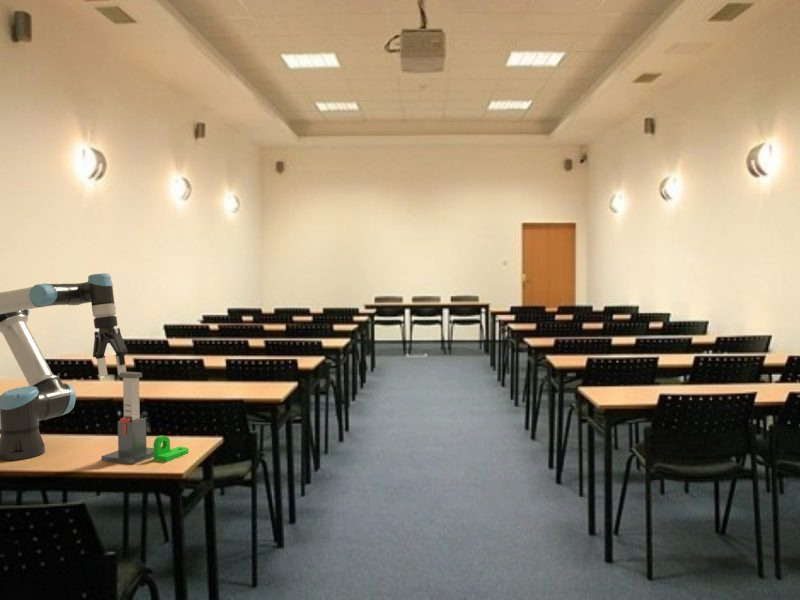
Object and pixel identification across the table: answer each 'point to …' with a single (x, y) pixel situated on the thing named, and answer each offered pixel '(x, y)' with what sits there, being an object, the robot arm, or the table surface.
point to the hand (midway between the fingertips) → (112, 375)
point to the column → (131, 394)
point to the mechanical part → (167, 450)
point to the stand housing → (130, 443)
